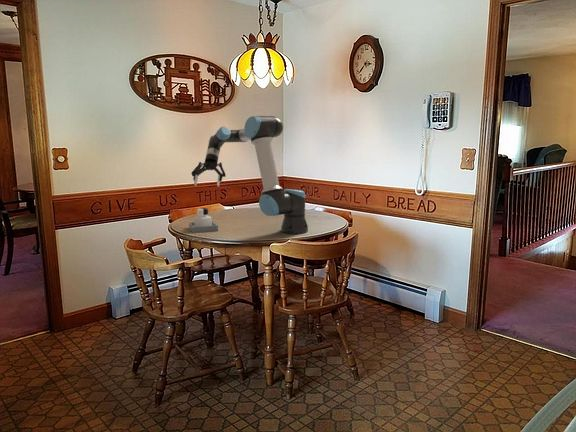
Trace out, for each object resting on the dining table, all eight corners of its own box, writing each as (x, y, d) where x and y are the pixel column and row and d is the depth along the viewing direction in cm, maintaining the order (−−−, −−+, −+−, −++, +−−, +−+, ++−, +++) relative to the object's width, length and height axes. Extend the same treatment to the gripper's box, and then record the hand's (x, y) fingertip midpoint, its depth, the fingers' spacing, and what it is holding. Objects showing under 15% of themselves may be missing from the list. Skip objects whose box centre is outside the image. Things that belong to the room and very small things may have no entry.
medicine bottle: (204, 227, 261) (203, 206, 258) (212, 229, 256) (211, 208, 254) (194, 229, 255) (193, 208, 253) (202, 231, 251) (201, 210, 249)
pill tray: (218, 230, 252) (217, 225, 251) (192, 232, 247) (192, 227, 246) (213, 225, 265) (213, 220, 264) (189, 227, 260) (188, 222, 259)
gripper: (233, 161, 276) (228, 189, 264) (193, 161, 278) (186, 188, 266) (231, 153, 270) (226, 181, 258) (190, 152, 272) (183, 180, 260)
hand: (206, 185), depth 262 cm, fingers open, 13 cm apart
